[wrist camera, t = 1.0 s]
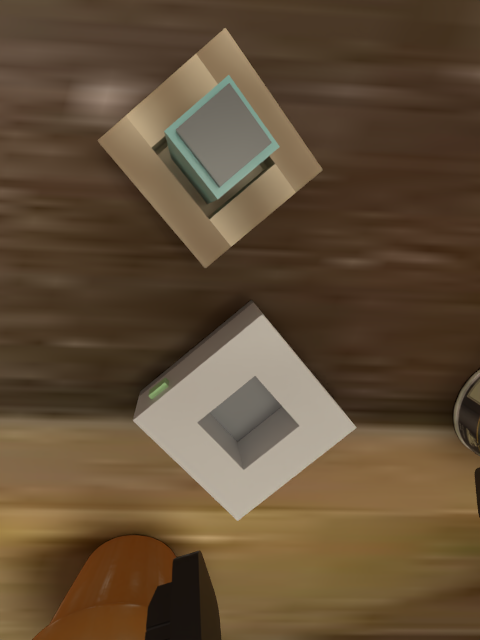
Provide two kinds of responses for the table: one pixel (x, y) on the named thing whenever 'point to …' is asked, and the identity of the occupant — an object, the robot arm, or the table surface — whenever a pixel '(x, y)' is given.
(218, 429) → the port
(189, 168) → the plug
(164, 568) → the flower pot
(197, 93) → the holster
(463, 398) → the coffee can
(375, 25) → the table surface
